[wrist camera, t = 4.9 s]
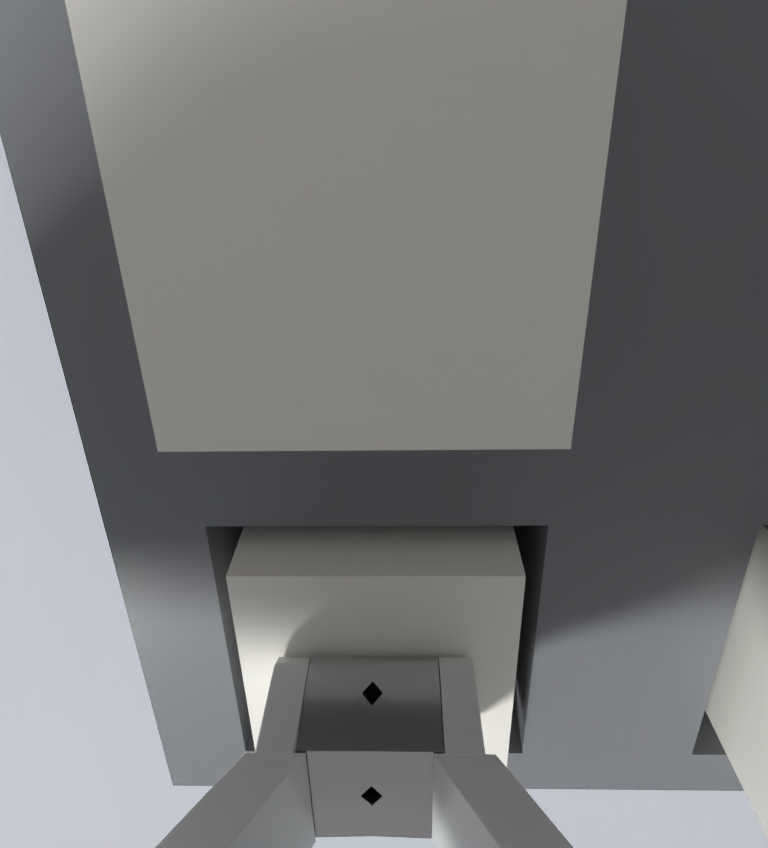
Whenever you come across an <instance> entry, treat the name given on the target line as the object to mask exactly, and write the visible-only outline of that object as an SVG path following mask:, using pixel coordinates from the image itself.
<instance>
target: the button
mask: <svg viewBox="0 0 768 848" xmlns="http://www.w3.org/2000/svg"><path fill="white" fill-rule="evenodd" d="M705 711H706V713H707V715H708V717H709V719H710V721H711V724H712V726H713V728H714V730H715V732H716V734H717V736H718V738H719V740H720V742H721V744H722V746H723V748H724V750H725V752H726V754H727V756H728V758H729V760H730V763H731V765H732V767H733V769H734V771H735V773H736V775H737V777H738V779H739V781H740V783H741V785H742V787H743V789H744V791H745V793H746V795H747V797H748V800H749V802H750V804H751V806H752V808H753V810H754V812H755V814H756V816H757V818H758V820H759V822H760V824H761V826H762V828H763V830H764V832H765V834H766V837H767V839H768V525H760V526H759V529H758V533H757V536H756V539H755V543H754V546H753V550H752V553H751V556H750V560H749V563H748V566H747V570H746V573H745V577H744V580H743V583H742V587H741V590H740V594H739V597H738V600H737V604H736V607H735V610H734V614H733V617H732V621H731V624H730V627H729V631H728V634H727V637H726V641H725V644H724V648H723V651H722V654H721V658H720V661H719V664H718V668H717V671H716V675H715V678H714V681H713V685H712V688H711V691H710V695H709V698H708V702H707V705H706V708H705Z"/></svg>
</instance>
